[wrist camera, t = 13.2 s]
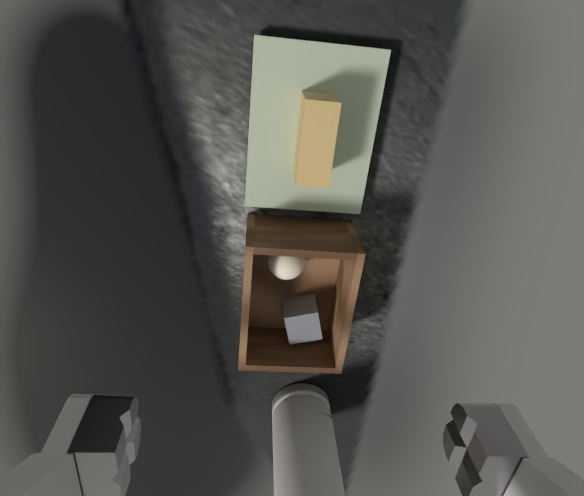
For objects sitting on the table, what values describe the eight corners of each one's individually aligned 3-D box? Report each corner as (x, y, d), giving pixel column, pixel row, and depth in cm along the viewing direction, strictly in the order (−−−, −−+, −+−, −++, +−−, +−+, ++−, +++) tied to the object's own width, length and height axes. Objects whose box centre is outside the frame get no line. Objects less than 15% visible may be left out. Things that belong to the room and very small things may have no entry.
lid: (254, 33, 31) (253, 37, 27) (385, 48, 32) (405, 54, 28) (245, 198, 37) (243, 224, 33) (356, 206, 38) (369, 232, 34)
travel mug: (338, 386, 48) (383, 605, 30) (316, 427, 50) (345, 649, 33) (283, 374, 46) (296, 595, 29) (264, 416, 49) (265, 642, 32)
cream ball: (269, 234, 38) (269, 252, 35) (306, 236, 38) (309, 254, 35) (266, 266, 39) (266, 286, 36) (301, 268, 39) (305, 288, 37)
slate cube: (282, 298, 41) (283, 318, 38) (314, 293, 41) (318, 312, 38) (287, 323, 42) (289, 344, 40) (318, 318, 42) (322, 339, 40)
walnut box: (247, 213, 38) (245, 246, 32) (351, 220, 38) (365, 254, 33) (241, 326, 43) (238, 370, 38) (331, 330, 44) (341, 373, 39)
